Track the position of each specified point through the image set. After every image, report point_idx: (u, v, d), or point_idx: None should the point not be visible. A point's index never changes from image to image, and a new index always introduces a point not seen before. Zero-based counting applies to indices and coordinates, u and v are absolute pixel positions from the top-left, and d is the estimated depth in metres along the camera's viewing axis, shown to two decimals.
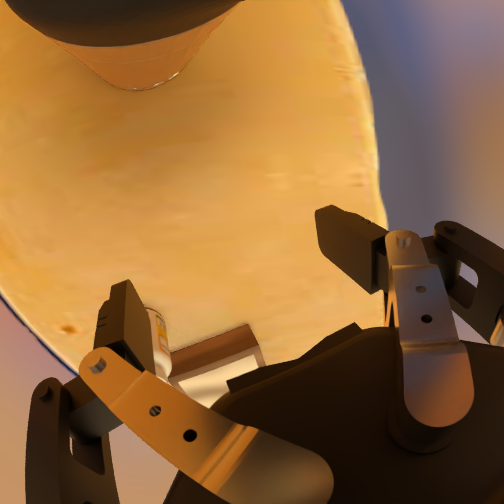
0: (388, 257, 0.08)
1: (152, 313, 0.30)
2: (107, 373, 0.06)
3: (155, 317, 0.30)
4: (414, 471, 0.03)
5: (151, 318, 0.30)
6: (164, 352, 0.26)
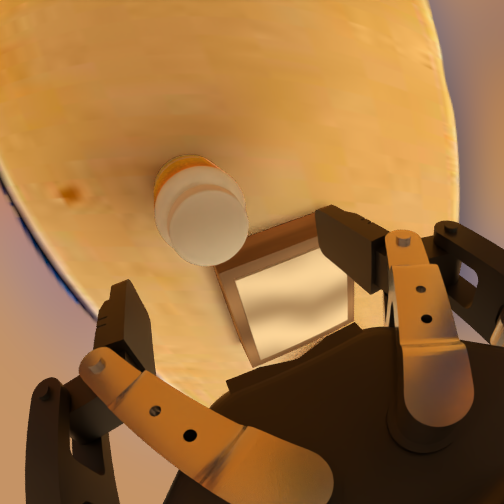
0: (388, 257, 0.08)
1: None
2: (107, 373, 0.06)
3: (213, 163, 0.21)
4: (414, 471, 0.03)
5: (208, 160, 0.20)
6: None
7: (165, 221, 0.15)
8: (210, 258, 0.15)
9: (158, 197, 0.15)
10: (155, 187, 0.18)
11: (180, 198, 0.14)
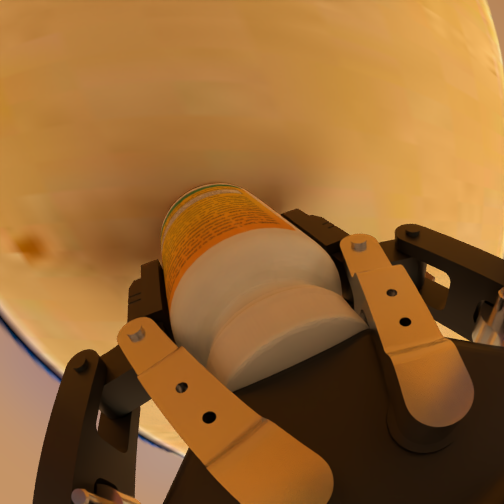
0: (347, 264, 0.08)
1: (250, 193, 0.13)
2: (144, 343, 0.07)
3: (259, 199, 0.13)
4: (430, 470, 0.03)
5: (253, 196, 0.12)
6: None
7: (197, 348, 0.07)
8: None
9: (178, 298, 0.07)
10: (164, 250, 0.10)
11: (241, 331, 0.06)
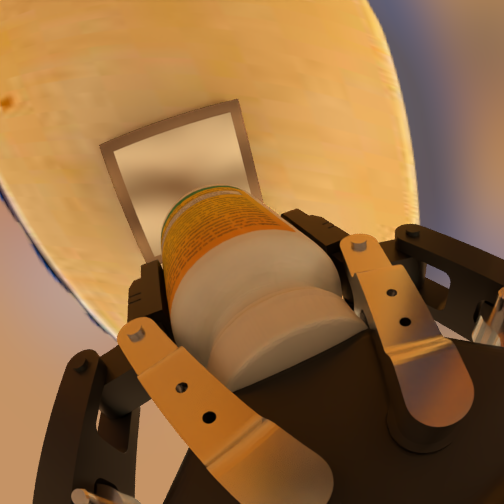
0: (347, 264, 0.08)
1: (250, 194, 0.13)
2: (144, 343, 0.07)
3: (259, 200, 0.13)
4: (429, 470, 0.03)
5: (254, 197, 0.12)
6: None
7: (198, 350, 0.07)
8: None
9: (178, 300, 0.07)
10: (165, 251, 0.10)
11: (241, 332, 0.06)
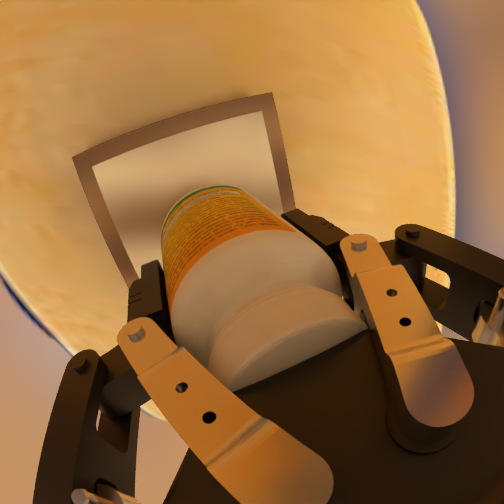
0: (347, 264, 0.08)
1: (250, 194, 0.13)
2: (144, 343, 0.07)
3: None
4: (430, 470, 0.03)
5: (254, 197, 0.12)
6: None
7: (198, 350, 0.07)
8: None
9: (179, 300, 0.07)
10: (165, 251, 0.10)
11: (242, 333, 0.06)
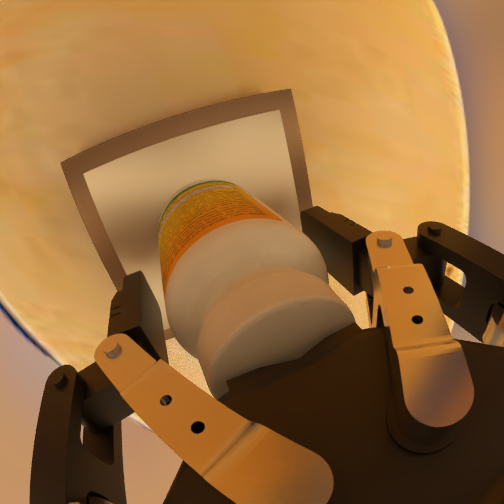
0: (371, 259, 0.08)
1: (244, 189, 0.14)
2: (122, 359, 0.06)
3: None
4: (421, 471, 0.03)
5: (246, 191, 0.13)
6: None
7: (189, 331, 0.08)
8: None
9: (172, 284, 0.08)
10: (161, 242, 0.11)
11: (228, 310, 0.06)
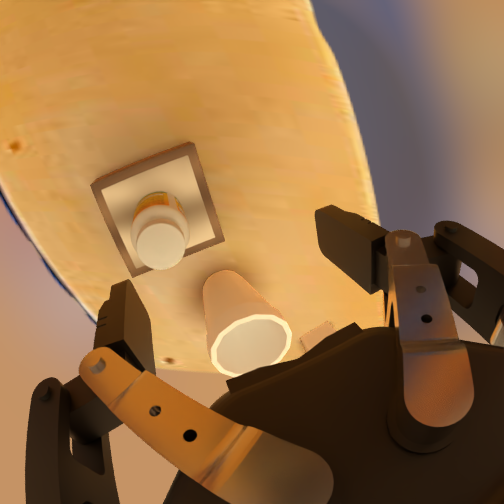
0: (388, 257, 0.08)
1: (171, 194, 0.29)
2: (107, 373, 0.06)
3: (174, 197, 0.29)
4: (414, 471, 0.03)
5: (169, 195, 0.28)
6: (183, 215, 0.25)
7: (136, 242, 0.23)
8: (162, 264, 0.23)
9: (132, 226, 0.23)
10: (133, 217, 0.26)
11: (142, 228, 0.22)
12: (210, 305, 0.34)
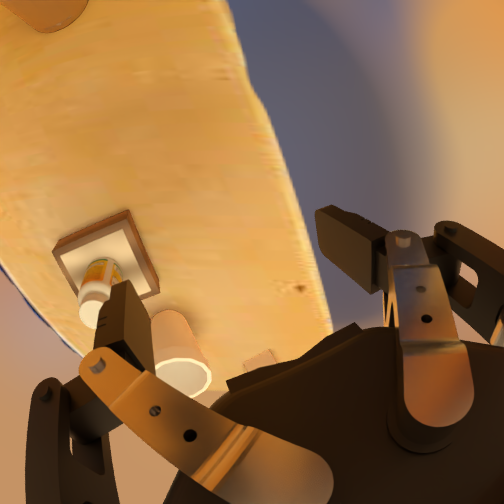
0: (388, 257, 0.08)
1: (111, 261, 0.35)
2: (107, 373, 0.06)
3: (113, 264, 0.34)
4: (414, 471, 0.03)
5: (109, 264, 0.34)
6: None
7: None
8: None
9: (78, 295, 0.29)
10: None
11: (82, 301, 0.27)
12: None
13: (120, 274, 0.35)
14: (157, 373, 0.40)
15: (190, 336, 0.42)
